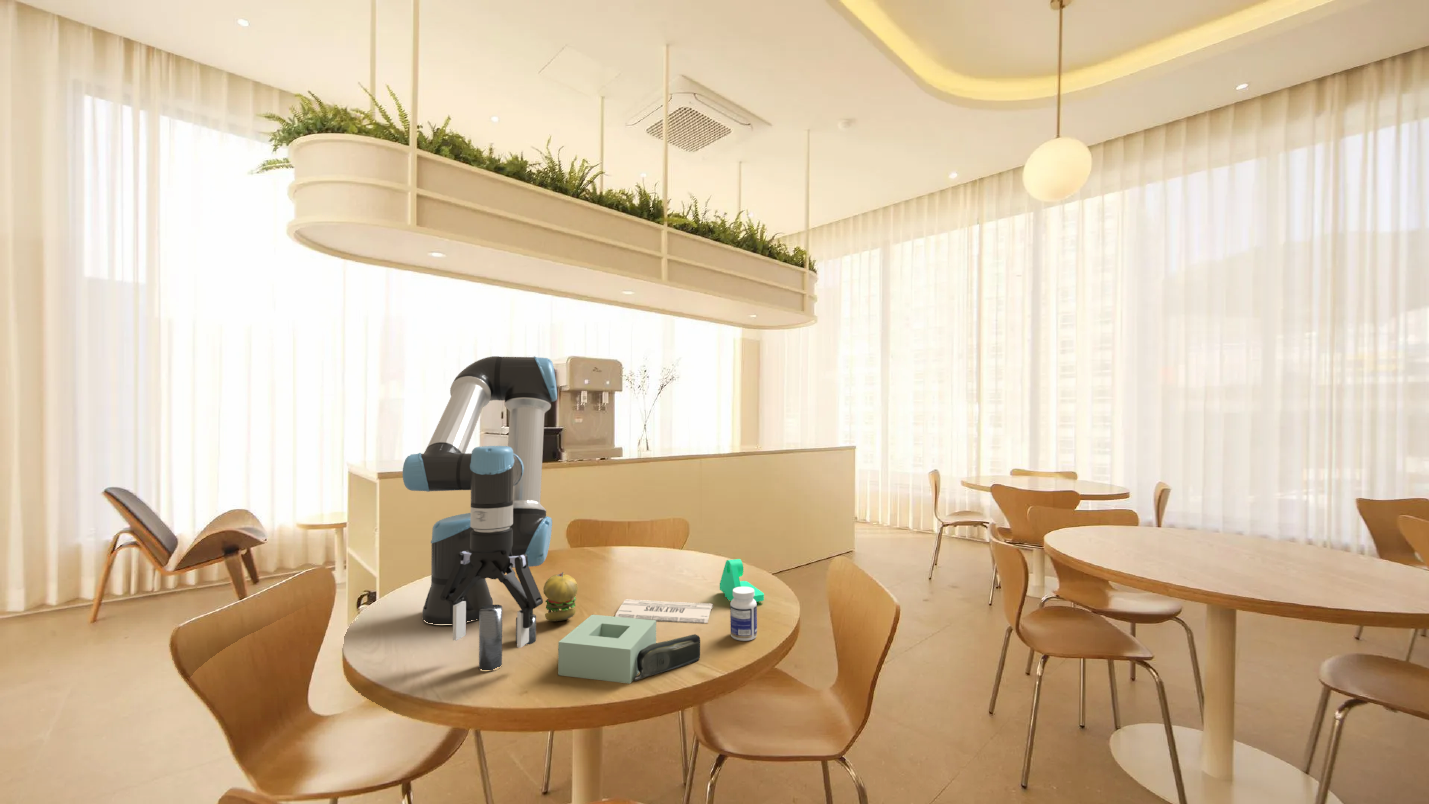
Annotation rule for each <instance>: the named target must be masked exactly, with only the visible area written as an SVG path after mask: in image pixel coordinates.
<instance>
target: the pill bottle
mask: <svg viewBox="0 0 1429 804" xmlns="http://www.w3.org/2000/svg"><path fill="white" fill-rule="evenodd" d="M754 595H755V594H754V589H753V588H751V587H736V588H734V589H733V597H734V599H732V601H731V602H730V603H729V605H730V608H729V609H730V613H729V614H730V616H729V618H730V621H729V622H730V624H729V625H730V636H731V638H732V639H734V640H736V641H741V642H748V641H752V640H754V639H756V637H757V636H758V605H757V604H758V603H757V602H756V601H755V600H754V599H753V597H754Z"/></svg>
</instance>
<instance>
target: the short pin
mask: <svg viewBox="0 0 1429 804" xmlns="http://www.w3.org/2000/svg"><path fill="white" fill-rule="evenodd" d="M536 642H537V615H536V614H534V613H533V624H532V626H530V627H529V642H528V643H527V644H529V645H531V644H534V643H536ZM516 643H517V616H516V617H515V644H516ZM524 646H527V645H526V644H525V645H524Z"/></svg>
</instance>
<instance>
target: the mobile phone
mask: <svg viewBox="0 0 1429 804" xmlns="http://www.w3.org/2000/svg"><path fill="white" fill-rule="evenodd" d="M700 658H701V638H700V636H699V634H696V633H694V634H689V635H686V636H682V637H681V636H680V637H677V638H673V639H669V640H666V641H660V642H656V643H654V644H651V645H649V646H647V647H646V648H644V649H642V650H641V651H640V652H639V654H638V656H637V668H638V671H639V673H638V675H637V676H636V677H634V680H633V681H635V682H637V681H640V680H641V679H645V678H647V677H650V676H654V675H657V674H661V673H663V672H664V673H665V672H667V671H671V670H674V669H677V668H680V667H683V666H687V665H690V664H694V663H696V662H698V661H699V660H700Z"/></svg>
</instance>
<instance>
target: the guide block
mask: <svg viewBox="0 0 1429 804" xmlns="http://www.w3.org/2000/svg"><path fill="white" fill-rule="evenodd" d="M654 643H657V621H656V620H646V619H635V618H624V617H615V616H613V615H611V616H610V615H601V614H591V615H590V616H588V617H587V618H586V619H585V620H583V622H581V623H579V625H577V627H575V628H573V630H571V631H570V632H569V633H568V634H566V635H565V636H564V637H562V639H560V640H559V641H558V644H557V645H558V646H557V647H558V648H557V649H558V653H557V655H558V656H557V657H558V659H557V661H558V662H557V664H558V667H557V668H558V670H557V672H558V673H557V674H558V676H563V677H572V678H579V679H588V680H589V679H590V680H596V681H597V680H598V681H605V682H613V683H623V684H630V685H631V684H632V682H633V681H634V677H636V676H638V675H639V674H640V672H639V671H638V668H637V656H638V654H639V652H640V651H641V650H642V649H644V648H646V647H647V646H649V645H651V644H654Z"/></svg>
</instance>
